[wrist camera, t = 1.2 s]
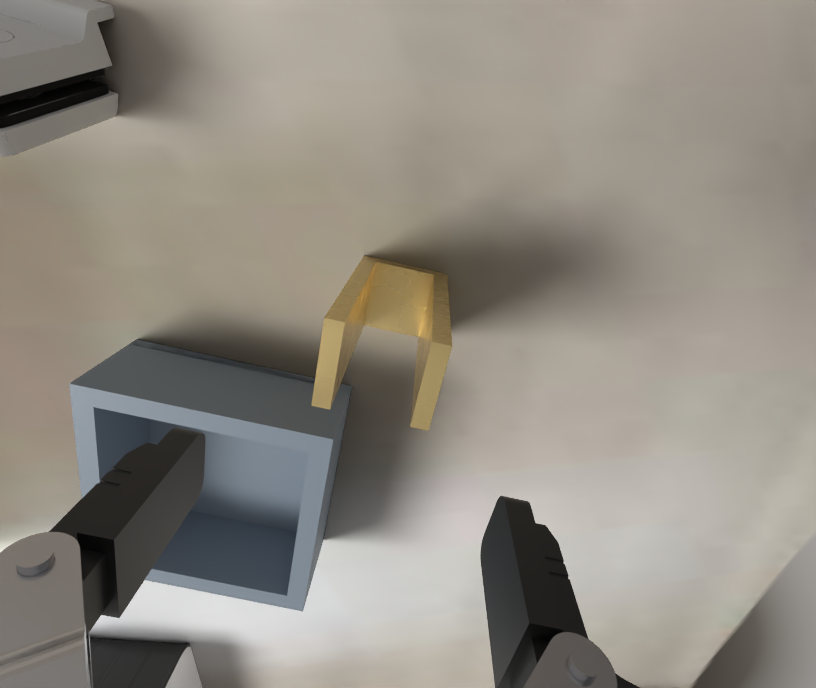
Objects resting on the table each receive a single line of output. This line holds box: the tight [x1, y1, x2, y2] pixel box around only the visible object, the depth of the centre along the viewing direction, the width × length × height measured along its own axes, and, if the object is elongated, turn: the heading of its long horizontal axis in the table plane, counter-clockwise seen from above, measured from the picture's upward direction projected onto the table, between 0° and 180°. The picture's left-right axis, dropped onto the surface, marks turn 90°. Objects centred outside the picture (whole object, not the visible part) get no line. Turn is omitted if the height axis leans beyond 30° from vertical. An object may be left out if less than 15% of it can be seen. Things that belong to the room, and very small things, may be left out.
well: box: [69, 339, 352, 611], centre depth 30 cm, size 14×14×6 cm
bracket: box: [311, 256, 452, 431], centre depth 23 cm, size 5×4×10 cm
